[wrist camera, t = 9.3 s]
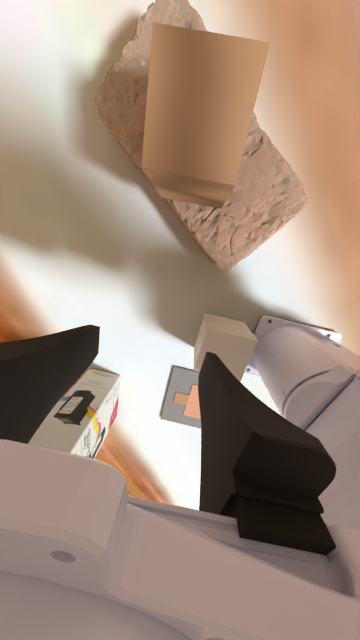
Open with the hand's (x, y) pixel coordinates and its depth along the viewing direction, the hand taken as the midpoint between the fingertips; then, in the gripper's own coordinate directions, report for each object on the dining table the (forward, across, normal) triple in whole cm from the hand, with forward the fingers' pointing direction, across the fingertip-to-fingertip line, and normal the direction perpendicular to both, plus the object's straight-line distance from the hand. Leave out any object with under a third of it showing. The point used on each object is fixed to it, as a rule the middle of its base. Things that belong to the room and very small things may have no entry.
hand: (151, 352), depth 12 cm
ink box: (+11, +7, +16) cm, 21 cm away
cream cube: (+10, -7, +2) cm, 13 cm away
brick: (+11, 0, -13) cm, 17 cm away
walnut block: (+6, 0, -13) cm, 14 cm away
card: (+10, -6, +13) cm, 18 cm away
